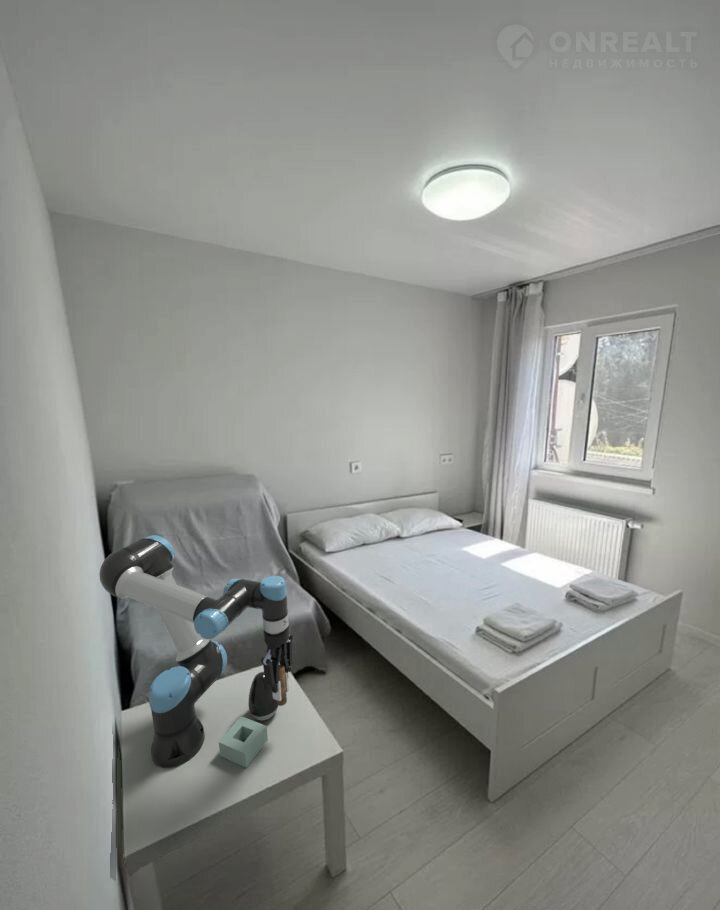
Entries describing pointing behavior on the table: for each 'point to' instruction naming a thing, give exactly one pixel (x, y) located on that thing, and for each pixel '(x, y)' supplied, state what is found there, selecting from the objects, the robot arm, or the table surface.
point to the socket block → (240, 750)
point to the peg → (282, 686)
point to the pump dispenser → (261, 699)
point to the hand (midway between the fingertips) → (280, 694)
